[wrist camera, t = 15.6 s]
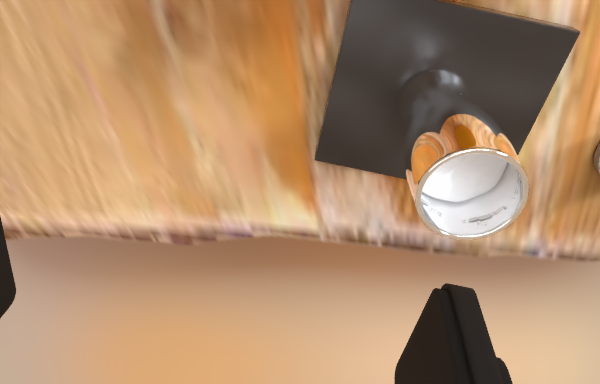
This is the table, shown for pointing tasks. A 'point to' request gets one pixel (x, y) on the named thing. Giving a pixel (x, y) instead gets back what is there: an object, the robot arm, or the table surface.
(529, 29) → the serving board
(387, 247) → the table surface
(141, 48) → the table surface
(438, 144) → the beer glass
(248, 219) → the table surface
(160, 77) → the table surface
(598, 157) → the travel mug
